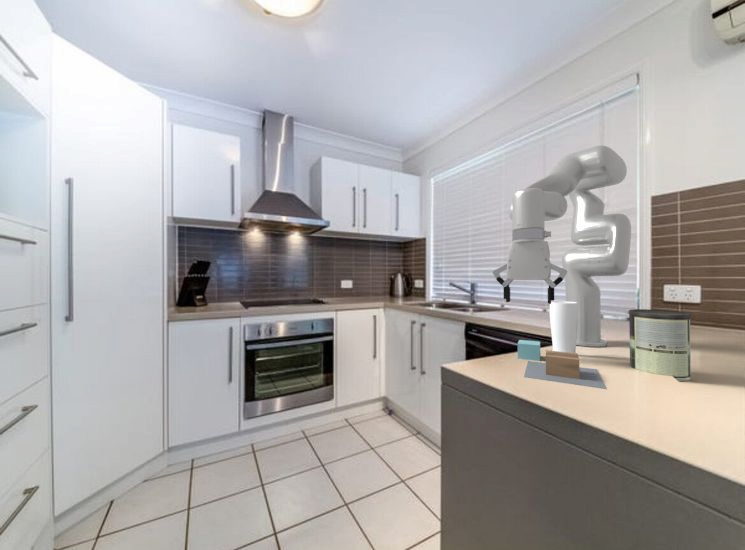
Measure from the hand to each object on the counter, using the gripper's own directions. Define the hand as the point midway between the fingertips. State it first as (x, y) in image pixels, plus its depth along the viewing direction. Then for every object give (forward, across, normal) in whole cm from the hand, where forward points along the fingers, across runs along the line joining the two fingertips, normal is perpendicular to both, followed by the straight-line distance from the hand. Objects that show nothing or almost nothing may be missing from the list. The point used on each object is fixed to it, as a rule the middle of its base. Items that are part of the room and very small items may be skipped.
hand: (528, 302), depth 79 cm
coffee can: (+15, -26, -4) cm, 31 cm away
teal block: (+15, 0, 0) cm, 15 cm away
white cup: (+15, -8, -10) cm, 20 cm away
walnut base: (+14, -7, +10) cm, 19 cm away
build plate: (+15, -7, +10) cm, 20 cm away
